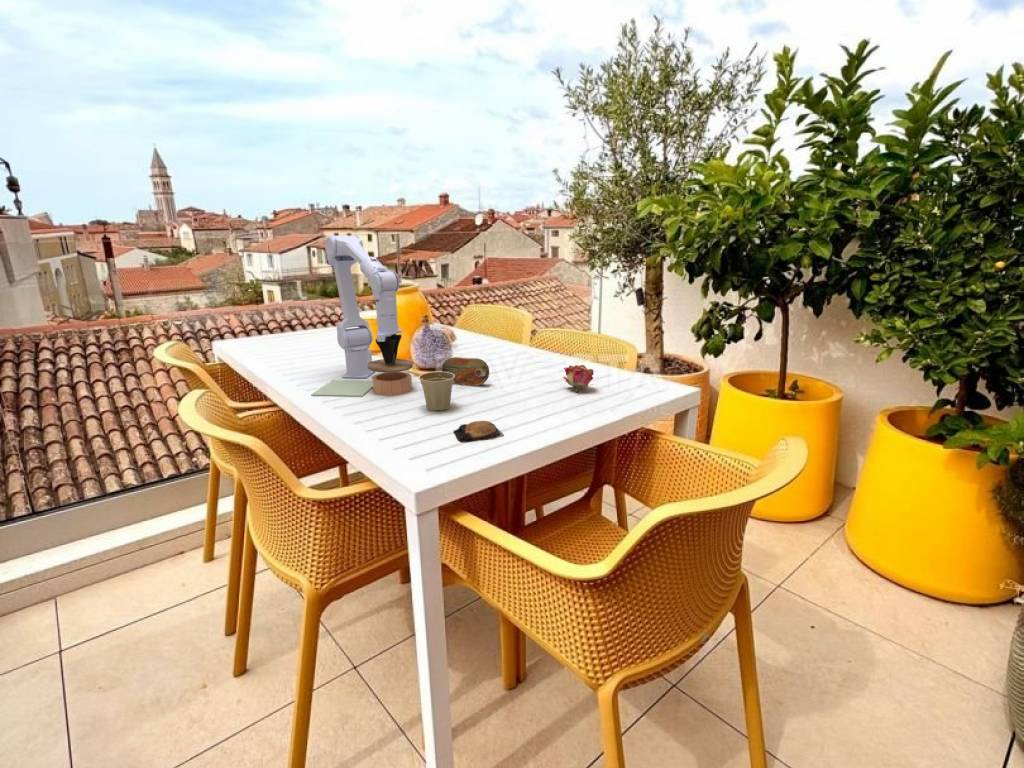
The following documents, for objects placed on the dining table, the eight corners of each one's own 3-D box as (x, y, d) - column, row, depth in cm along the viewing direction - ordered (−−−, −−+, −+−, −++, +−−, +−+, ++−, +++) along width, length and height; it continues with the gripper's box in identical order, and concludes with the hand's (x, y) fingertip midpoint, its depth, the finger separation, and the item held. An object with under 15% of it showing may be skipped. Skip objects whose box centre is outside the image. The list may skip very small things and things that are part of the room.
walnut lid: (375, 360, 152) (374, 348, 151) (417, 362, 151) (417, 349, 150) (360, 371, 139) (360, 358, 138) (406, 373, 139) (406, 360, 138)
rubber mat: (333, 381, 156) (332, 379, 156) (379, 381, 155) (379, 380, 155) (311, 395, 142) (311, 394, 141) (362, 396, 141) (362, 395, 140)
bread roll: (493, 427, 120) (493, 412, 119) (506, 439, 112) (506, 424, 111) (450, 433, 116) (450, 418, 115) (460, 446, 108) (460, 430, 107)
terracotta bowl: (380, 383, 153) (379, 371, 152) (415, 384, 152) (414, 371, 151) (368, 394, 142) (367, 381, 141) (405, 395, 142) (404, 381, 140)
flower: (596, 390, 139) (598, 364, 142) (564, 384, 139) (567, 358, 141) (586, 400, 149) (589, 375, 151) (557, 394, 148) (560, 369, 150)
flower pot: (449, 414, 126) (448, 382, 124) (415, 412, 128) (413, 380, 126) (460, 402, 135) (459, 372, 133) (428, 400, 137) (426, 370, 135)
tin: (441, 383, 153) (440, 356, 151) (446, 380, 156) (445, 354, 154) (487, 387, 149) (486, 360, 146) (490, 384, 152) (490, 358, 149)
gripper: (393, 318, 134) (396, 367, 138) (407, 311, 148) (410, 355, 151) (367, 318, 134) (372, 367, 138) (384, 311, 148) (388, 355, 152)
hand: (390, 361), depth 145 cm, fingers closed on walnut lid, 3 cm apart
